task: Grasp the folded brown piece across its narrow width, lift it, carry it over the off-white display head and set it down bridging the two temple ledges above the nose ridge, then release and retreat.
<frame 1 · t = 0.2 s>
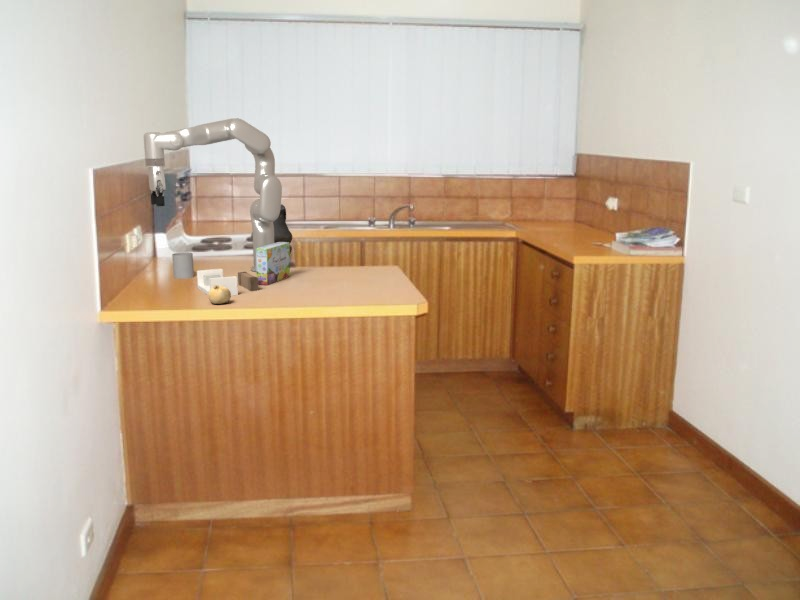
hand: (158, 205, 322), 31 cm above the counter, fingers open, 9 cm apart
pitcher: (273, 255, 393), on the counter
display head: (217, 291, 302), on the counter
snack box: (274, 281, 324), on the counter
cup: (183, 277, 333), on the counter
brown piece: (248, 287, 310), on the counter
onion: (220, 304, 281), on the counter
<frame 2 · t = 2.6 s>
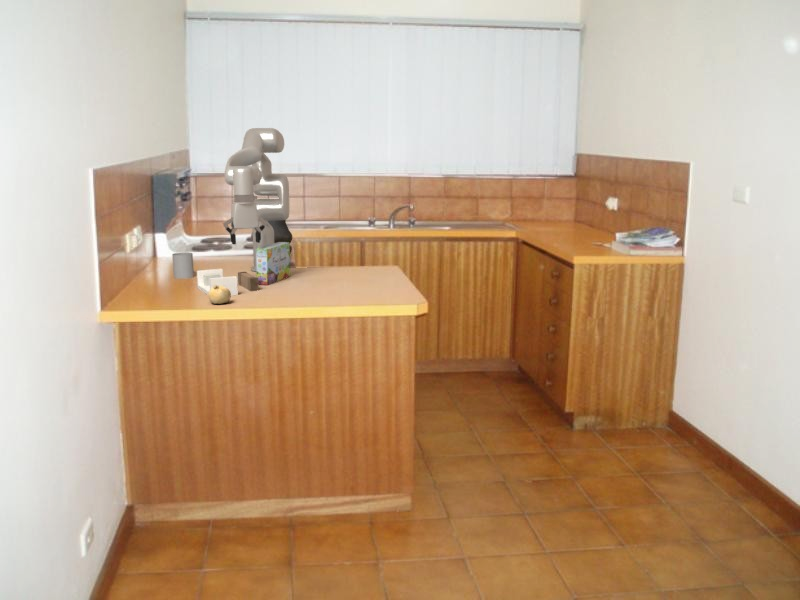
hand: (246, 243, 306), 18 cm above the counter, fingers open, 9 cm apart
nothing on the counter moved.
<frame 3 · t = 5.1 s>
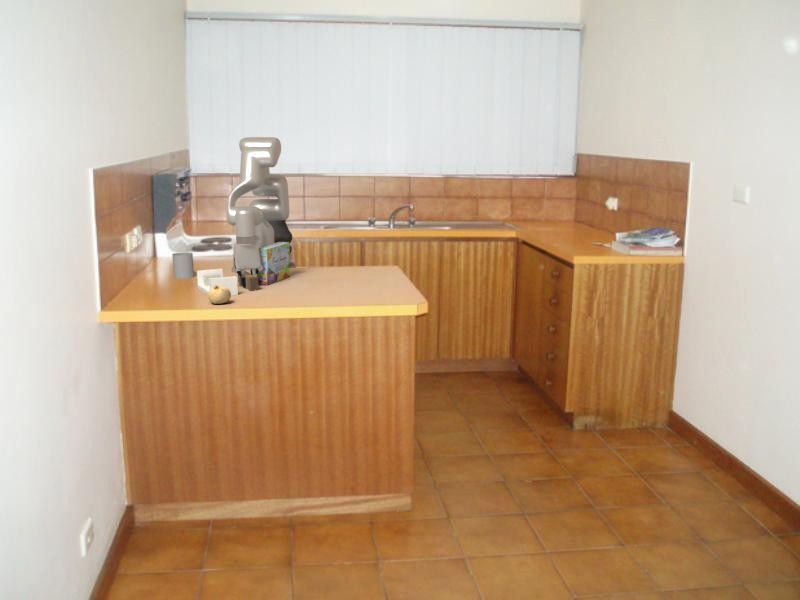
hand: (248, 286, 310), 0 cm above the counter, fingers closed on brown piece, 2 cm apart
brown piece: (247, 286, 310), on the counter, touching gripper
everything else where it was.
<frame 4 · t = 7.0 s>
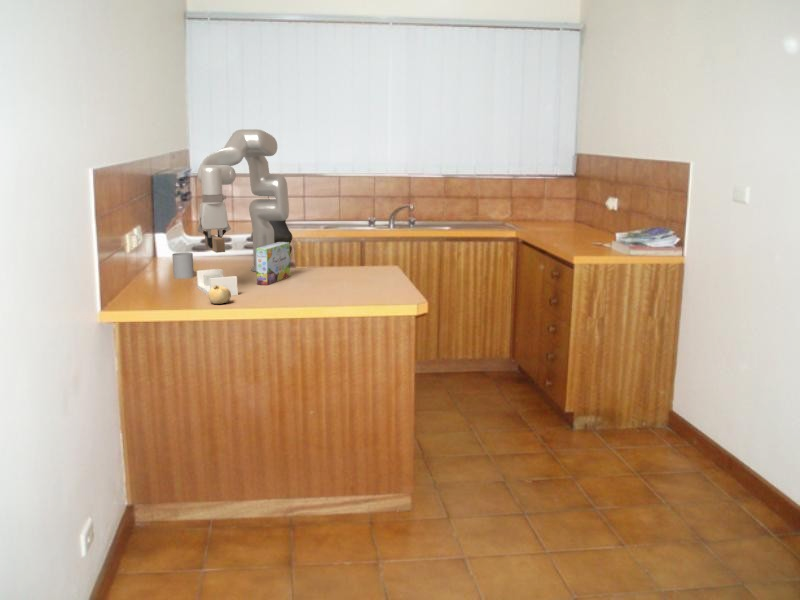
hand: (215, 247, 299), 17 cm above the counter, fingers closed on brown piece, 2 cm apart
brown piece: (215, 250, 299), point 16 cm above the counter, touching gripper
everything else where it was.
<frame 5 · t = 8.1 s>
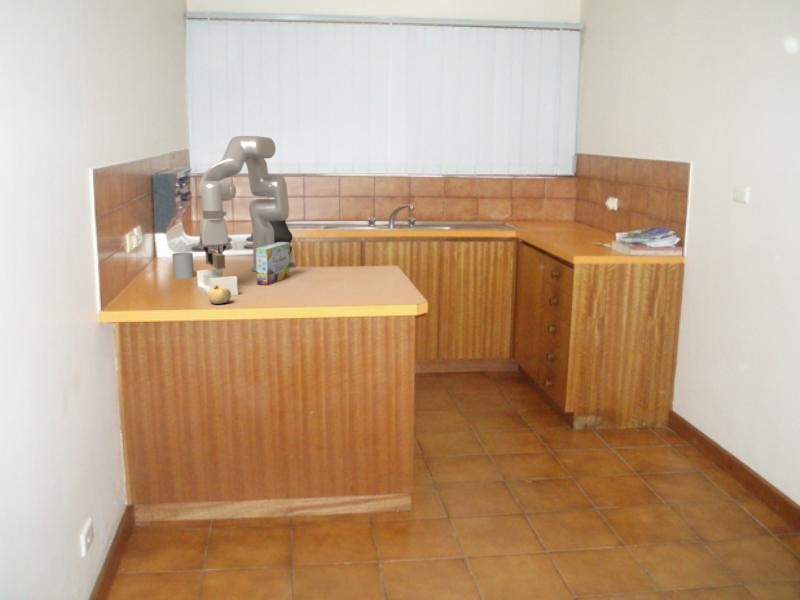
hand: (215, 262, 300), 11 cm above the counter, fingers closed on brown piece, 2 cm apart
brown piece: (215, 265, 300), point 10 cm above the counter, touching gripper
everything else where it was.
when the fingers open (7 cm above the counter, at t = 9.1 s): brown piece stays where it is, resting on display head.
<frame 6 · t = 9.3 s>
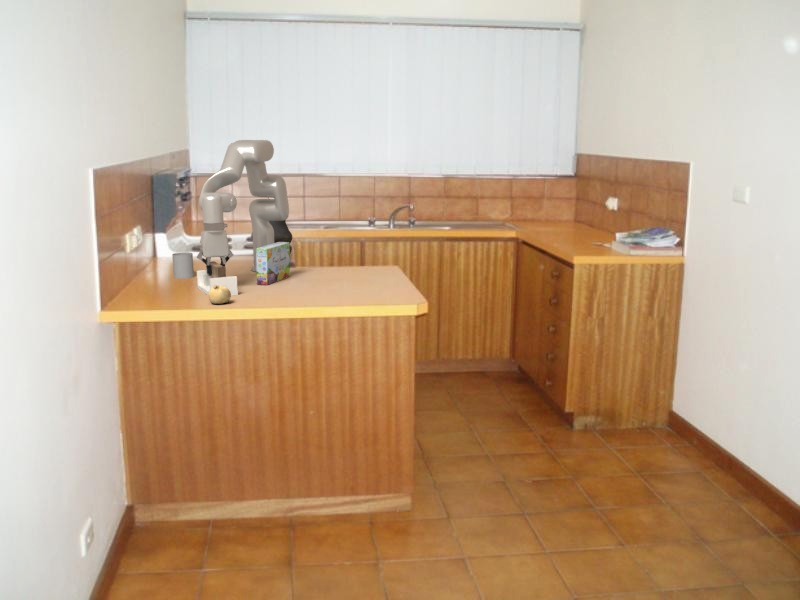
hand: (216, 274, 301), 7 cm above the counter, fingers open, 4 cm apart
brown piece: (216, 277, 301), point 5 cm above the counter, touching display head
everything else where it was.
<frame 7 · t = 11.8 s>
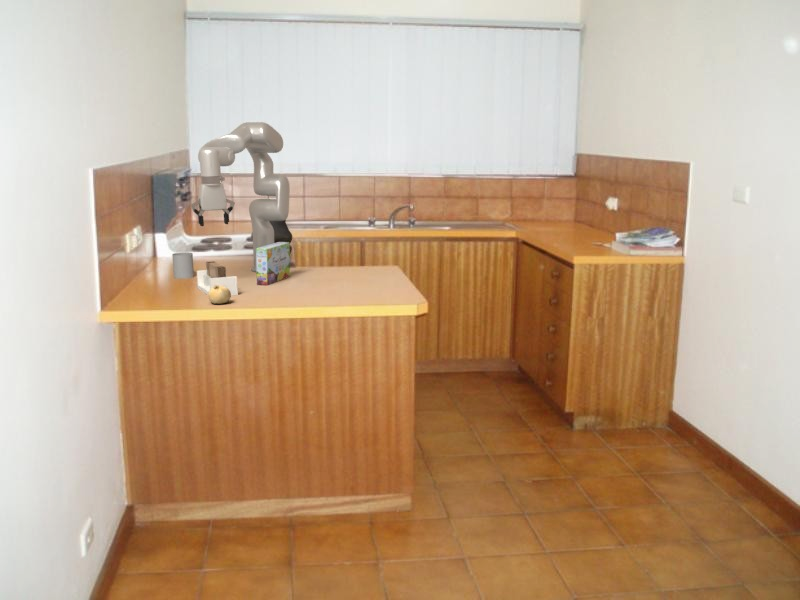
hand: (214, 224, 305), 25 cm above the counter, fingers open, 9 cm apart
nothing on the counter moved.
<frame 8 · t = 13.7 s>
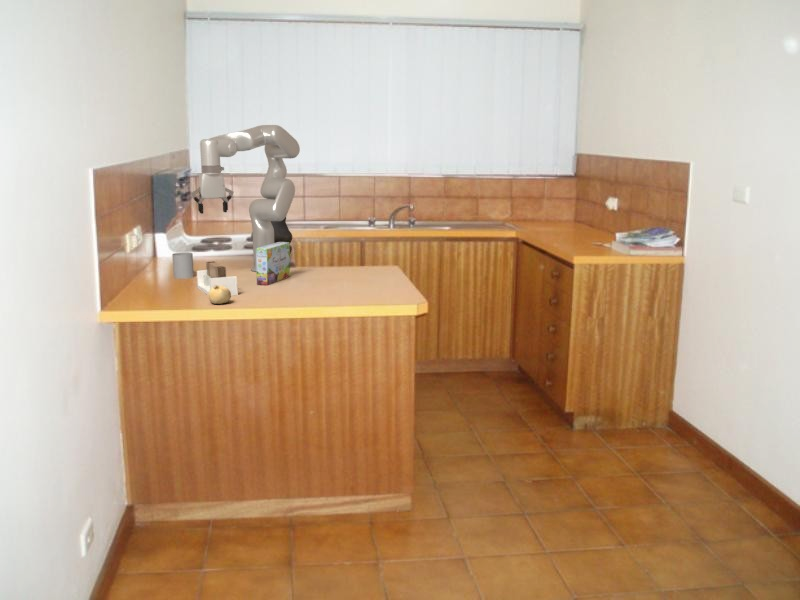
hand: (213, 212, 318), 28 cm above the counter, fingers open, 9 cm apart
nothing on the counter moved.
at the end: brown piece 0.1 cm off-centre on the display head, point 5.5 cm above the display head's base; brown piece tilted 0°; the gripper is holding nothing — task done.
